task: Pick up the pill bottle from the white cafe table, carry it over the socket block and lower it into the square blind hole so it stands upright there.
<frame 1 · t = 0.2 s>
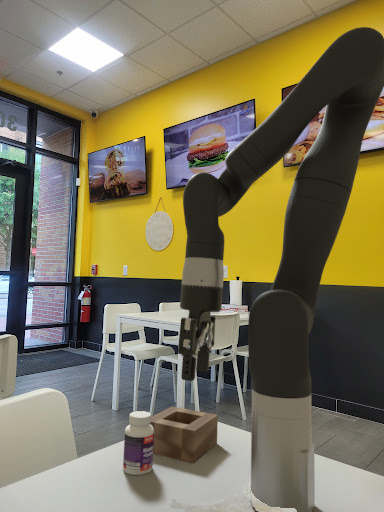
hand: (195, 375, 66), 18 cm above the table, tool pointing down, fingers open, 8 cm apart
pill bottle: (137, 470, 68), on the table
socket block: (181, 446, 79), on the table
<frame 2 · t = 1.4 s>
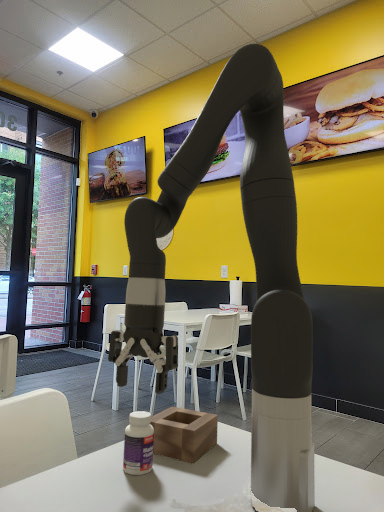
hand: (140, 389, 70), 14 cm above the table, tool pointing down, fingers open, 8 cm apart
nothing on the table moved.
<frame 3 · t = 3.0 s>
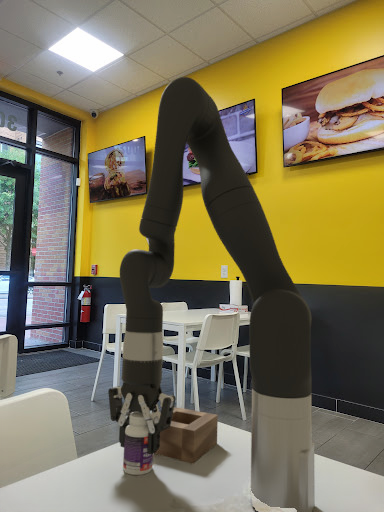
hand: (138, 448, 69), 4 cm above the table, tool pointing down, fingers closed on pill bottle, 5 cm apart
pill bottle: (137, 470, 68), on the table, touching gripper
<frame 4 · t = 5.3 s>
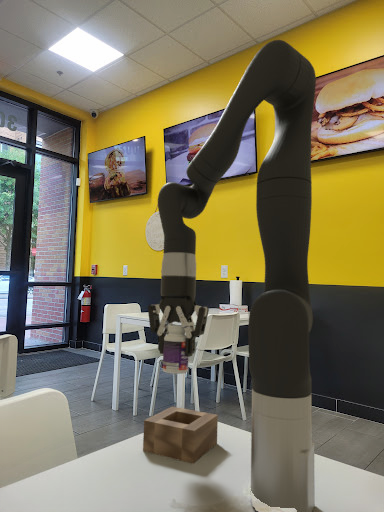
hand: (175, 354, 79), 19 cm above the table, tool pointing down, fingers closed on pill bottle, 5 cm apart
pill bottle: (175, 372, 78), point 16 cm above the table, touching gripper
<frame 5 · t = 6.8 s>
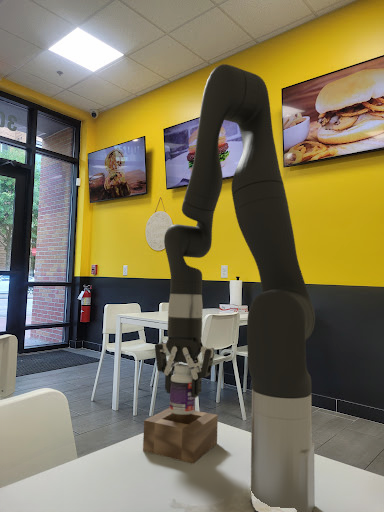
hand: (182, 394, 80), 11 cm above the table, tool pointing down, fingers closed on pill bottle, 5 cm apart
pill bottle: (181, 412, 80), point 7 cm above the table, touching gripper
when the fingers open (7 cm above the table, at t = 7.9 s): pill bottle drops 3 cm, resting on socket block.
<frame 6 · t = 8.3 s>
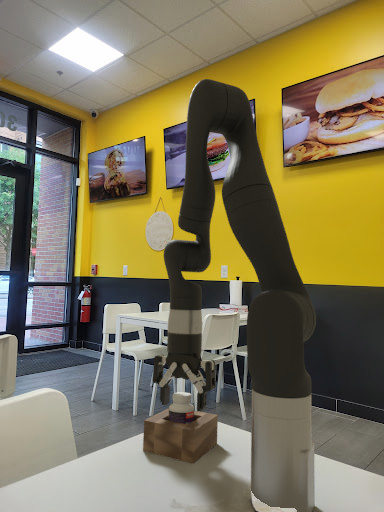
hand: (182, 407, 80), 8 cm above the table, tool pointing down, fingers open, 8 cm apart
pill bottle: (180, 442, 79), point 1 cm above the table, touching socket block
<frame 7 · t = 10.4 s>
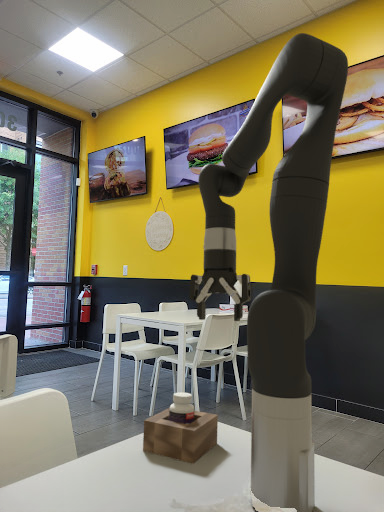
hand: (219, 320, 84), 27 cm above the table, tool pointing down, fingers open, 8 cm apart
nothing on the table moved.
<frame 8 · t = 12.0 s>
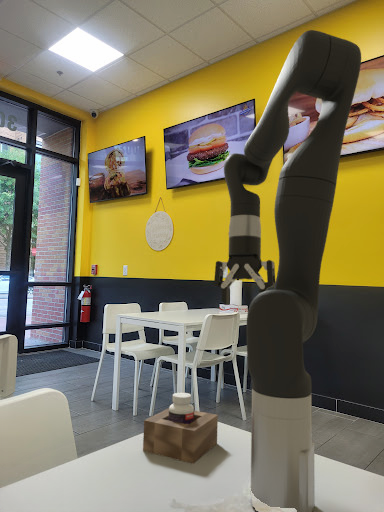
hand: (243, 305, 87), 30 cm above the table, tool pointing down, fingers open, 8 cm apart
nothing on the table moved.
at the end: pill bottle 0.2 cm off-centre on the socket block, point 0.8 cm above the socket block's base; pill bottle tilted 1°; the gripper is holding nothing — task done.
